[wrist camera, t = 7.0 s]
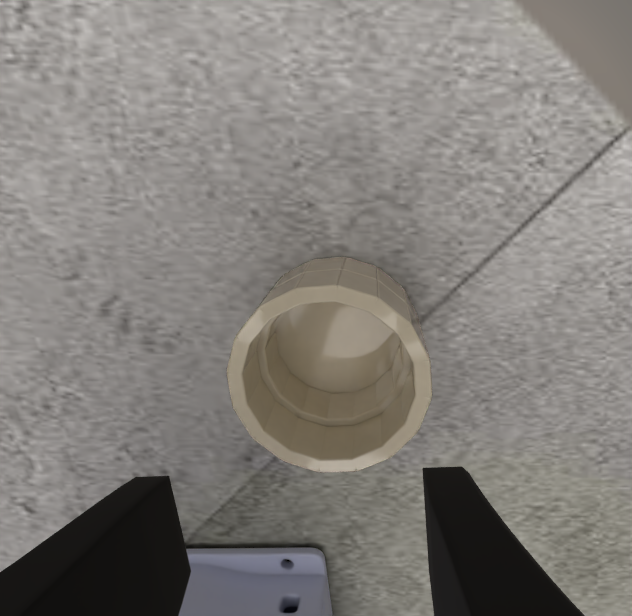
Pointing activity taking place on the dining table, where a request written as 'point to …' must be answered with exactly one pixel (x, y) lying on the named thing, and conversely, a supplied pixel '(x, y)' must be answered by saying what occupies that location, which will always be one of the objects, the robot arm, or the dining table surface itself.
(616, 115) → the dining table surface
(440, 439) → the dining table surface
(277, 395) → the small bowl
